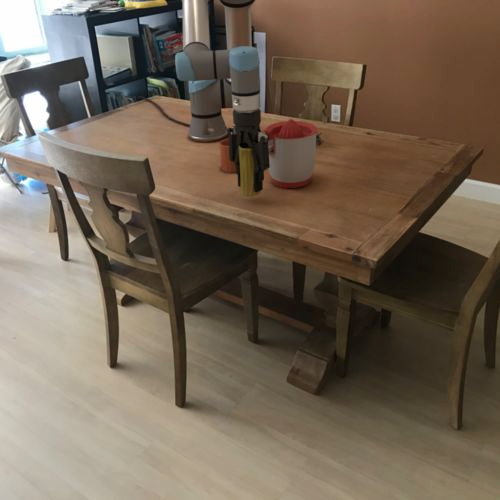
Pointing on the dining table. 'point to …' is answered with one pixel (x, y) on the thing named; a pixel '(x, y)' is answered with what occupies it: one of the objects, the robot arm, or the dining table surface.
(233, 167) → the terracotta cup
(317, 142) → the rhino figurine
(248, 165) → the vase
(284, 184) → the citrus juicer
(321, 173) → the dining table surface
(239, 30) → the robot arm
